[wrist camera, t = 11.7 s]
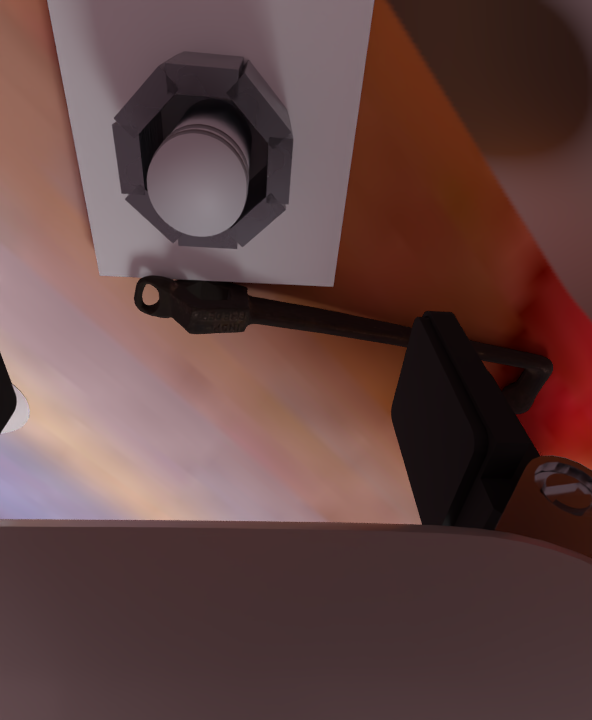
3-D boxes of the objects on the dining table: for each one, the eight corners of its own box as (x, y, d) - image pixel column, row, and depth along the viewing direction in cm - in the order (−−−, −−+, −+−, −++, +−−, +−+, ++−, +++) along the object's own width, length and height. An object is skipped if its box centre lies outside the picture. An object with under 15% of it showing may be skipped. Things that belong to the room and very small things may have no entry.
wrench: (502, 389, 40) (133, 322, 32) (536, 340, 37) (143, 252, 29) (535, 432, 36) (121, 368, 27) (576, 380, 33) (130, 291, 25)
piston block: (330, 275, 30) (351, 366, 23) (106, 264, 29) (50, 356, 22) (375, -54, 21) (438, -85, 13) (43, -91, 19) (-99, -148, 12)
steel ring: (282, 213, 26) (285, 251, 22) (149, 205, 26) (128, 243, 22) (292, 61, 22) (298, 74, 18) (133, 46, 21) (102, 57, 17)
